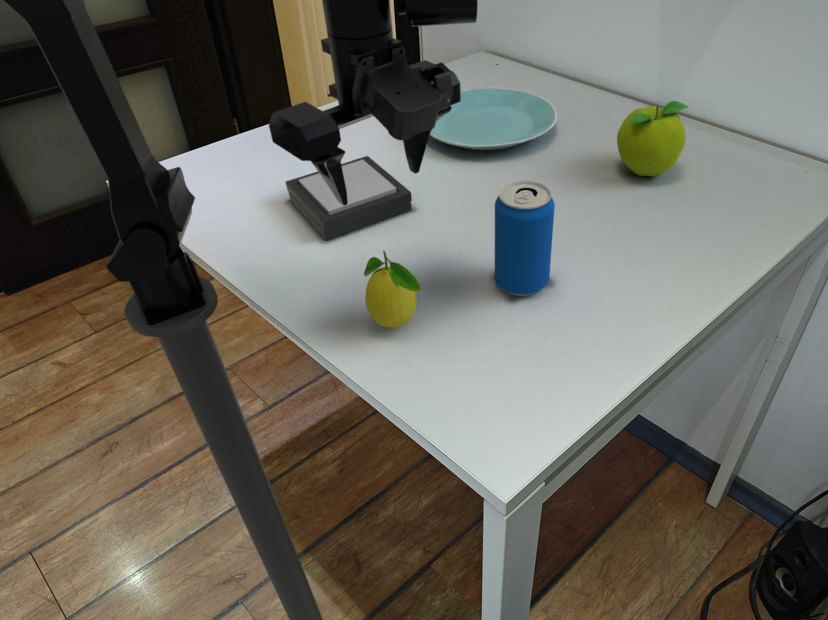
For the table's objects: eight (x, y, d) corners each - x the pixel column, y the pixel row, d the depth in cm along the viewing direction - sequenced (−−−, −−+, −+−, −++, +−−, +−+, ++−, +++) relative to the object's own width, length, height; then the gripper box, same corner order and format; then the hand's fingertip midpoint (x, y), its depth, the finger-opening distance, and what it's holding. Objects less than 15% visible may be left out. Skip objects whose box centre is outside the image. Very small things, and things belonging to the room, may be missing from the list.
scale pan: (330, 221, 87) (328, 211, 86) (300, 189, 93) (298, 179, 92) (397, 198, 91) (396, 187, 90) (364, 169, 97) (362, 159, 96)
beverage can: (554, 272, 81) (561, 183, 73) (541, 304, 76) (547, 213, 68) (503, 263, 83) (504, 175, 74) (487, 294, 78) (486, 204, 70)
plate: (397, 149, 105) (395, 132, 103) (453, 95, 120) (452, 79, 118) (530, 172, 99) (531, 155, 97) (572, 112, 113) (573, 95, 112)
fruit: (691, 179, 96) (706, 112, 89) (634, 192, 94) (645, 124, 87) (656, 152, 102) (668, 87, 96) (602, 163, 100) (610, 97, 93)
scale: (327, 242, 87) (323, 222, 85) (289, 200, 95) (284, 181, 93) (413, 211, 92) (411, 191, 90) (370, 173, 100) (367, 155, 98)
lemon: (426, 340, 73) (420, 265, 66) (373, 348, 72) (360, 274, 65) (417, 302, 77) (409, 229, 71) (366, 310, 77) (354, 236, 70)
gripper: (320, 84, 50) (350, 256, 60) (499, 23, 59) (498, 183, 69) (247, 47, 56) (286, 209, 67) (419, -3, 65) (430, 148, 75)
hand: (380, 187), depth 69 cm, fingers open, 9 cm apart
